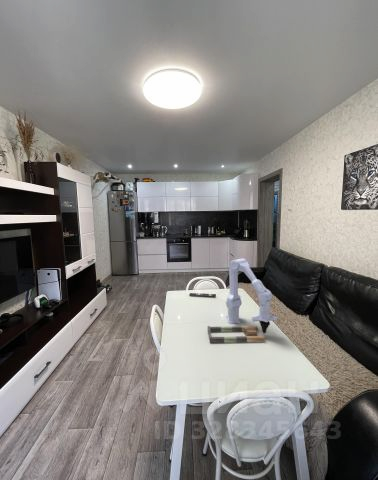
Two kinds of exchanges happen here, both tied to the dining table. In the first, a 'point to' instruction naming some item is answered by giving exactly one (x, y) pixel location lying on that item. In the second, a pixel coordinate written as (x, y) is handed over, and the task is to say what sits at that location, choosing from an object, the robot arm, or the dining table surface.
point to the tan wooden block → (250, 331)
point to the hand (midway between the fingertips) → (263, 332)
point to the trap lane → (236, 338)
